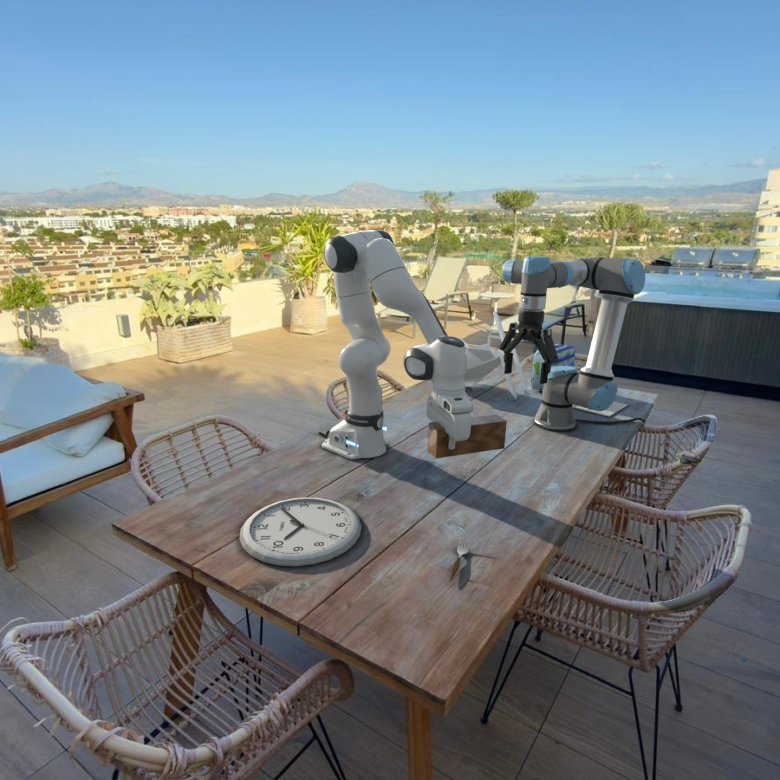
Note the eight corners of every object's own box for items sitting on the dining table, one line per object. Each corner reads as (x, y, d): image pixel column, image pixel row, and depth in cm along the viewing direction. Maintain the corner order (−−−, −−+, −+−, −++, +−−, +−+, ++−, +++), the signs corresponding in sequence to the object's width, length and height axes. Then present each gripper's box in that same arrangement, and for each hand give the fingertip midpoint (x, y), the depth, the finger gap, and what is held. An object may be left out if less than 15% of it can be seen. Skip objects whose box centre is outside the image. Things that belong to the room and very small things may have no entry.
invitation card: (608, 416, 214) (573, 407, 224) (608, 416, 214) (573, 408, 224) (628, 404, 229) (594, 396, 238) (628, 405, 229) (594, 397, 238)
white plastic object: (461, 429, 252) (437, 405, 227) (444, 352, 274) (420, 323, 250) (535, 404, 240) (518, 377, 215) (510, 326, 262) (492, 293, 237)
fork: (443, 582, 112) (444, 574, 112) (460, 542, 127) (460, 535, 126) (455, 584, 112) (456, 576, 111) (471, 544, 126) (471, 537, 125)
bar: (494, 441, 155) (496, 414, 153) (504, 448, 150) (506, 420, 148) (427, 450, 148) (429, 422, 145) (435, 458, 143) (437, 429, 140)
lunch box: (547, 396, 238) (552, 351, 232) (526, 391, 246) (531, 347, 239) (574, 385, 256) (579, 343, 250) (554, 380, 263) (559, 340, 257)
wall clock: (363, 557, 118) (227, 562, 115) (363, 563, 118) (227, 568, 115) (359, 492, 146) (250, 495, 143) (359, 498, 147) (250, 500, 144)
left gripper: (422, 386, 150) (420, 431, 154) (454, 409, 132) (451, 459, 136) (441, 384, 152) (439, 429, 156) (476, 407, 134) (473, 456, 138)
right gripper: (491, 305, 163) (486, 371, 169) (560, 316, 144) (551, 390, 151) (507, 303, 167) (501, 367, 174) (576, 314, 149) (567, 385, 155)
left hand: (445, 443), depth 146 cm, fingers closed on bar, 5 cm apart
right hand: (525, 378), depth 162 cm, fingers open, 13 cm apart
